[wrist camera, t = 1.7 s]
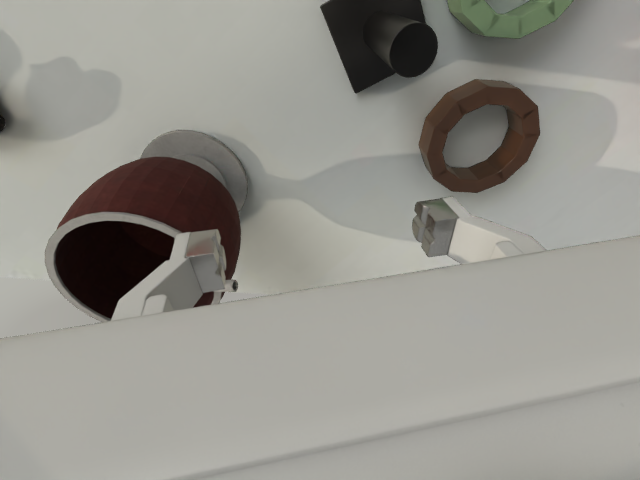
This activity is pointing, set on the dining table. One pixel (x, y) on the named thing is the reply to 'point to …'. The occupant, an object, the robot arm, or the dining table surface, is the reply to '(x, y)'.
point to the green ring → (507, 17)
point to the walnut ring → (504, 158)
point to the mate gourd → (147, 220)
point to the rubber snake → (2, 123)
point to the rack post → (380, 39)
